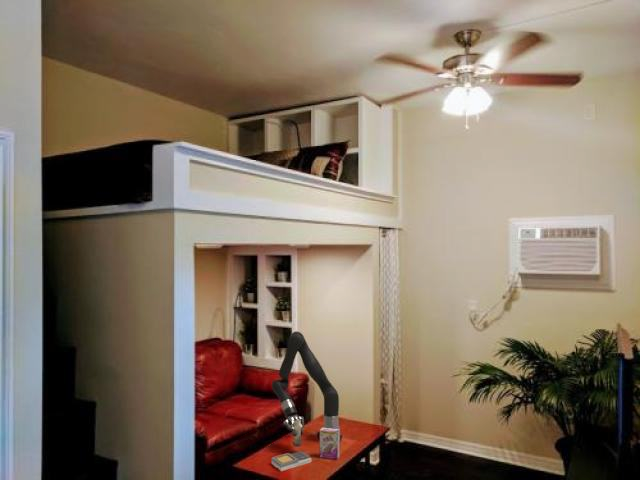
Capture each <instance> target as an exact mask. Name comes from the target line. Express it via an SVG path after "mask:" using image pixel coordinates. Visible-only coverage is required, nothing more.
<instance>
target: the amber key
mask: <svg viewBox="0 0 640 480" xmlns="http://www.w3.org/2000/svg"><path fill="white" fill-rule="evenodd" d="M276 460H278V461H279V462H280V463H286V462H289V461H292V460H293V459H291V458H290V457H289V456H283V457H280V458H276Z"/></svg>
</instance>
